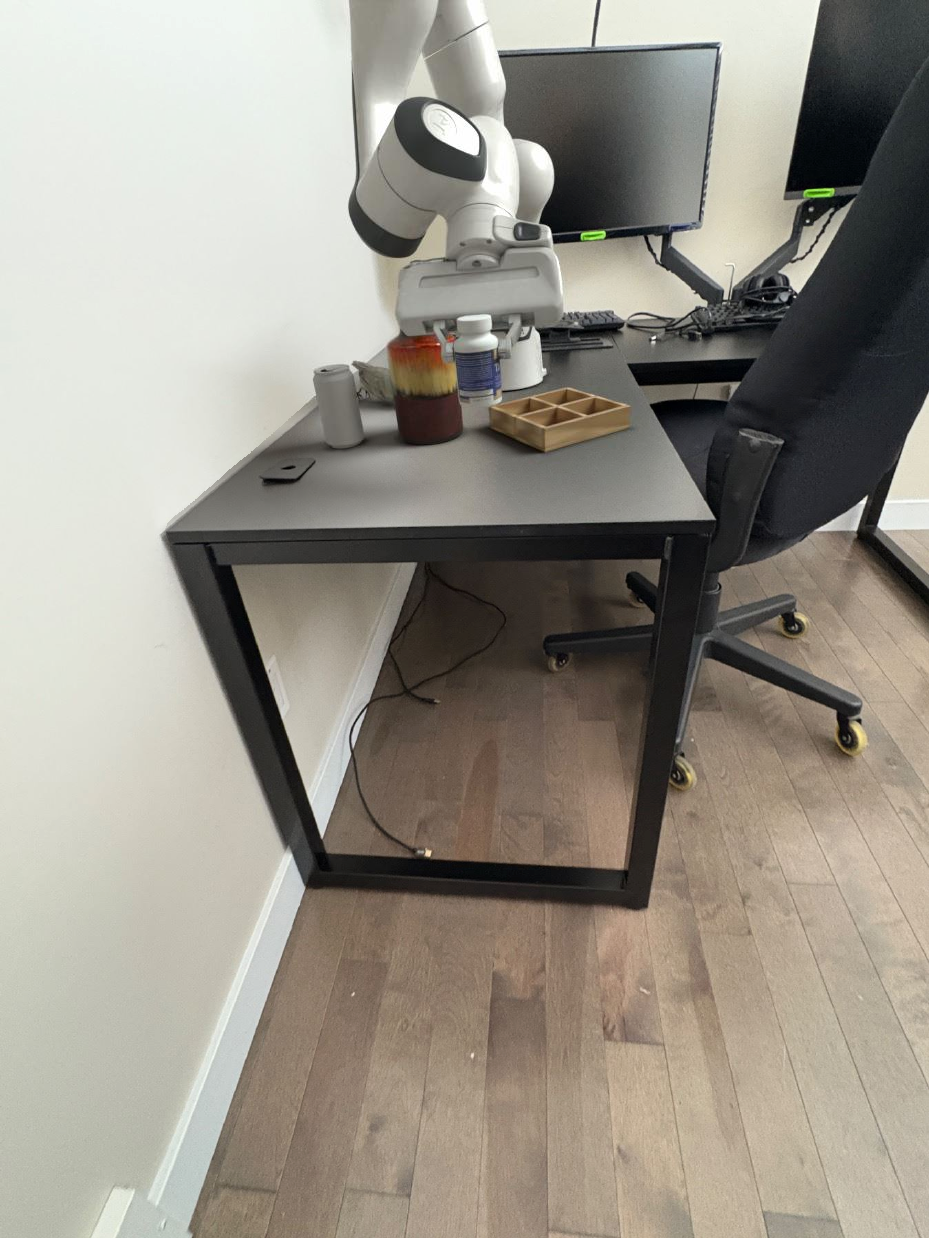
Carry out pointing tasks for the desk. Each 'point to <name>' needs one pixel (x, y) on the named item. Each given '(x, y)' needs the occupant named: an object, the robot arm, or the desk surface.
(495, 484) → the desk surface
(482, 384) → the pill bottle
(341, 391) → the beverage can
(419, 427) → the vase
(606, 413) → the wooden compartment tray
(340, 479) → the desk surface
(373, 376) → the decorative bird
